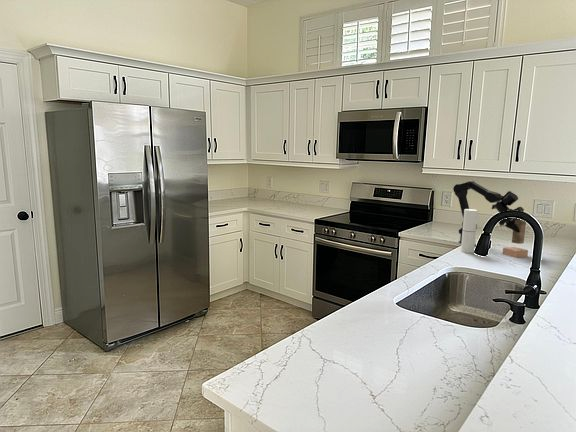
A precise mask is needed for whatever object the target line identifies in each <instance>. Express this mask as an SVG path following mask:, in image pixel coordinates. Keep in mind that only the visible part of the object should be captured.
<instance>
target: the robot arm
mask: <svg viewBox="0 0 576 432" xmlns="http://www.w3.org/2000/svg"><path fill="white" fill-rule="evenodd" d="M452 189H453V192H454V195H455V196H456V198H457V199H458V202H459V203H458V204H459V207H460V210H461V215H462V222H461V226H462V227H461V228H460V229H458V233H459V235H460V237H459V240H458V243H460V244H461V243H462V231H463V220H464V209H470V206H469V202H468V197H467V196H468V191H469V190H472V191H474V192H476V193H478V194H479V195H481V196H482V197H484V199H485V200H486V201H487V202H488V203H491V204H492V206H491V209H492V210H497V212H498V213H499V214H500V212H503V211H507V210H518V211H522V212H524V211H525V209H524V208H523V207H522V206H518V207H516V208H514V209H512V208H510V207H509V206H512V205H513V204H514V203H516V202H517V201H518V200H519V196H517V194H515V193H514V192H512V191H511V190H510V191H507V192H506V193H505V194H504V195H501V193H499V192H496V191H492V190H490V189H488V188H486V187H484V186H482V185H480V184H478V183H477V182H476V181H475V180H472V181H471V180H470V181H467V182H463V183H460V184H459V183H458V184H457V183H456V184H454V186H453V187H452ZM494 203H495V204H494ZM502 219H503V218H502ZM500 220H501V219H500ZM500 220H499V221H500ZM515 220H520V219H517V218H507V219H503V220H501V221H500V222H499V221H498V224H499V226H501V227H503V226H504V227H506V228H508V229H510V230H512V231H513V230H514V231H516V232H517V233H519V232H520V231H519V229H518V228H517V226H516V224H515ZM477 224H478V223H476V230H477V229H478V228H477V227H478V225H477Z"/></svg>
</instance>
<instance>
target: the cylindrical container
mask: <svg viewBox="0 0 576 432" xmlns="http://www.w3.org/2000/svg"><path fill="white" fill-rule="evenodd" d="M477 220H478V209H474V208H473V209H471V208H469V209H464V220H463V219H462V222H463V231H462V243H460V244H461V247H460V251H461V252H462V253H466V254H474V253H475V246H476V245H475V243H476V232H477V229H476V224H478V223H477V222H478V221H477ZM473 252H474V253H473Z"/></svg>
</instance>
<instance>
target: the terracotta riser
mask: <svg viewBox="0 0 576 432" xmlns="http://www.w3.org/2000/svg"><path fill="white" fill-rule="evenodd" d="M501 254H502V255H506V256H509V257H513V258H521V257H522V258H525V257H528V254H529V250H528V249H525V248H521V247H516V246H507V247H503V248H502V253H501Z"/></svg>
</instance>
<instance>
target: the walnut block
mask: <svg viewBox="0 0 576 432" xmlns="http://www.w3.org/2000/svg"><path fill="white" fill-rule="evenodd" d="M525 221H526V220H524V219H523V220H515V224H516V226H517V228H518V229H519V231H520V232H519V233H517V232H516V231H514V230H512V237H511V243H513V244H517V245H520V244H524V242H525V236H526V235H525V233H526V226H527V221H526V222H525Z"/></svg>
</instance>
